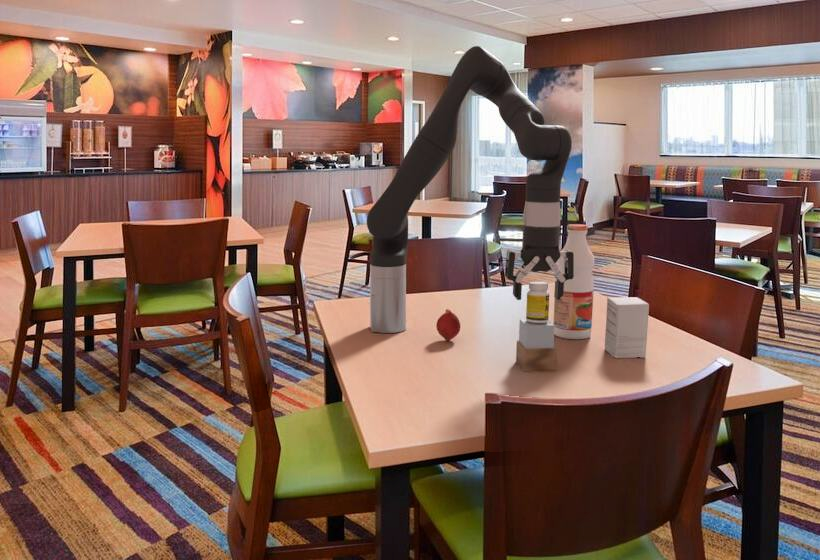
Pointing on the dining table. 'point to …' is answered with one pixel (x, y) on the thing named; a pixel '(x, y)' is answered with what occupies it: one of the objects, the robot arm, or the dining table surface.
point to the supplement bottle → (537, 302)
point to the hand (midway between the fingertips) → (537, 299)
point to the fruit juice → (576, 289)
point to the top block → (536, 334)
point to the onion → (448, 325)
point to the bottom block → (536, 358)
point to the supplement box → (626, 327)
